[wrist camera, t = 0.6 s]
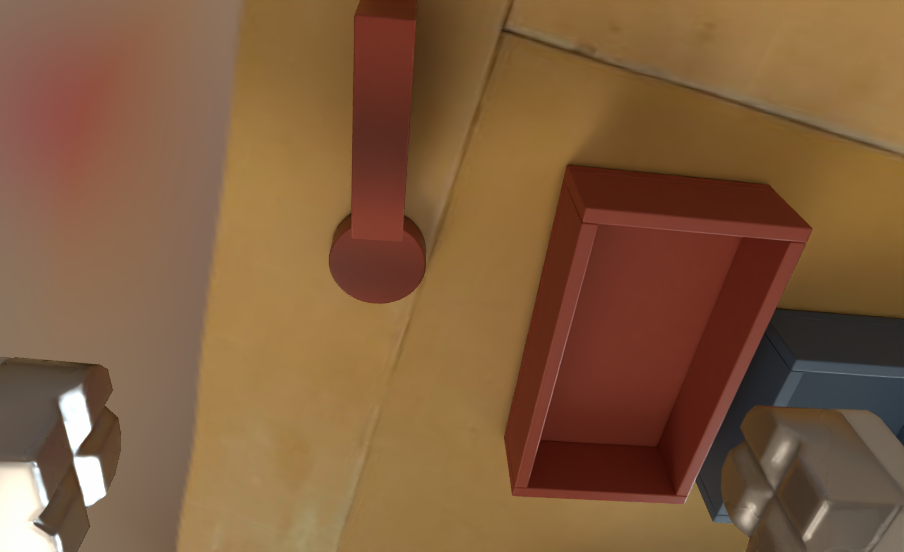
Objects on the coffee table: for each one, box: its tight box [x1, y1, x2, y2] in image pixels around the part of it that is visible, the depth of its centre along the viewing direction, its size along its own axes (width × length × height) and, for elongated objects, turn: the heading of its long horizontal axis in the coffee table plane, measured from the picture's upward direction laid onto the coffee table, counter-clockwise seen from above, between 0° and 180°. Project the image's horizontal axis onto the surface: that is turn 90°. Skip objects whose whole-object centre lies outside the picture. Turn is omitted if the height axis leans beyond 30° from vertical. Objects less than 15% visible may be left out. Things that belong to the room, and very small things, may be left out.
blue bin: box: [695, 309, 904, 523], centre depth 32 cm, size 10×10×4 cm
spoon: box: [329, 0, 426, 303], centre depth 24 cm, size 12×4×3 cm, turn 175°
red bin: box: [504, 165, 812, 504], centre depth 29 cm, size 15×8×4 cm, turn 173°
